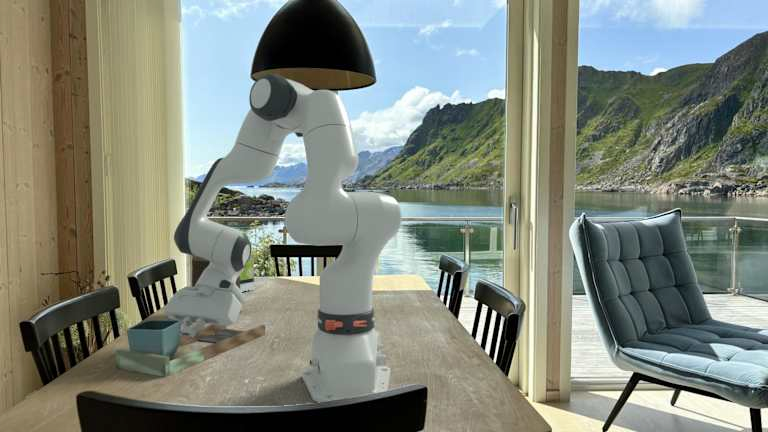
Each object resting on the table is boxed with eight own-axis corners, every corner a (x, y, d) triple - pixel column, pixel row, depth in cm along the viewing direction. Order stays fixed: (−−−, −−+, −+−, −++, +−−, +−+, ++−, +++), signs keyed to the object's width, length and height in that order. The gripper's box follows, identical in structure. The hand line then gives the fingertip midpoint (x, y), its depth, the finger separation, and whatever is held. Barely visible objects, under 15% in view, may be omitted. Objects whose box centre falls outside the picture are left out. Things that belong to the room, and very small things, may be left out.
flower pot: (126, 369, 117) (125, 329, 117) (148, 356, 126) (147, 319, 126) (163, 370, 116) (162, 330, 116) (183, 357, 125) (182, 320, 124)
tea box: (226, 297, 196) (225, 257, 195) (207, 294, 201) (206, 256, 200) (255, 290, 209) (254, 253, 208) (236, 288, 214) (235, 252, 213)
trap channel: (223, 329, 151) (222, 315, 150) (265, 334, 145) (265, 320, 145) (116, 368, 118) (115, 350, 118) (165, 376, 112) (165, 358, 112)
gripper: (175, 279, 138) (146, 324, 129) (239, 284, 130) (213, 333, 122) (188, 292, 142) (161, 338, 134) (251, 298, 134) (226, 347, 126)
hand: (186, 336), depth 128 cm, fingers closed
